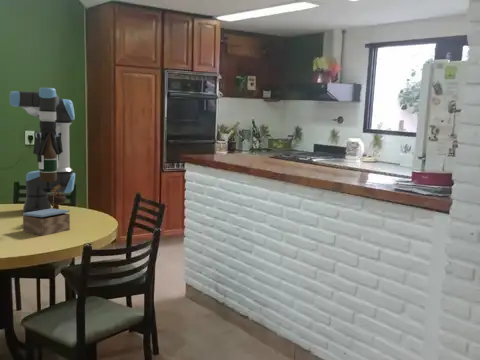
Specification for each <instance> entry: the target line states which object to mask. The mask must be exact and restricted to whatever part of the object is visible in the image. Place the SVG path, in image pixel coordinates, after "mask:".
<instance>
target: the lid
mask: <svg viewBox="0 0 480 360" xmlns="http://www.w3.org/2000/svg"><path fill="white" fill-rule="evenodd" d="M52 208H53V207H51V209H45V210H39V211H33V212H23V213H22V216H23V215H26V216H35V217H45V216H51V215H56V214H62V213H66V214H68V213H70V211H71V210H70V209H62V208H59V209H52Z"/></svg>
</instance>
